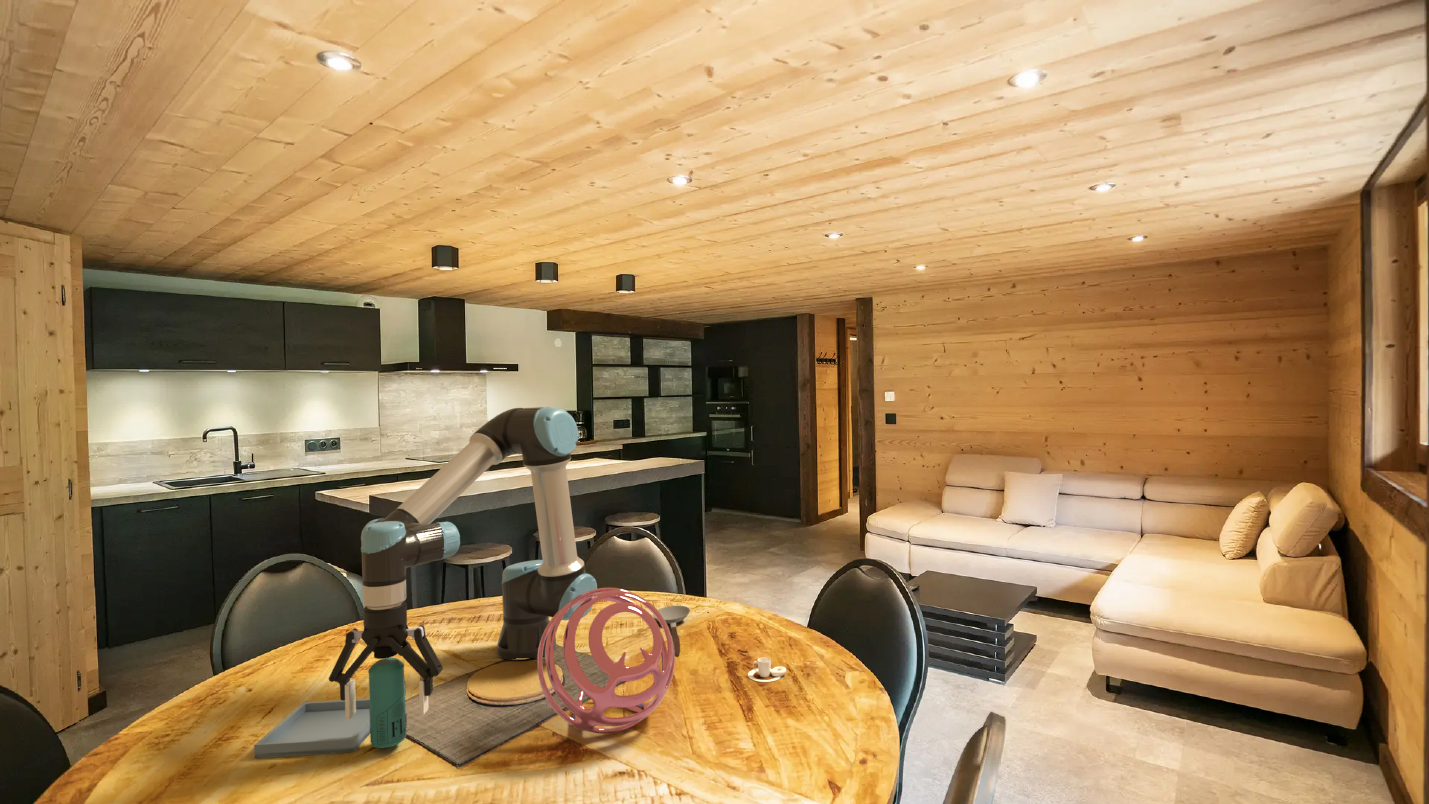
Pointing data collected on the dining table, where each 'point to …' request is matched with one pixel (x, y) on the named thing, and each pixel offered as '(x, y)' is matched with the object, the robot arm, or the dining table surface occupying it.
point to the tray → (317, 730)
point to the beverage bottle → (387, 699)
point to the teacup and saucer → (766, 670)
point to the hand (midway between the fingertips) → (387, 714)
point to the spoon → (674, 621)
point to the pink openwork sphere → (606, 664)
